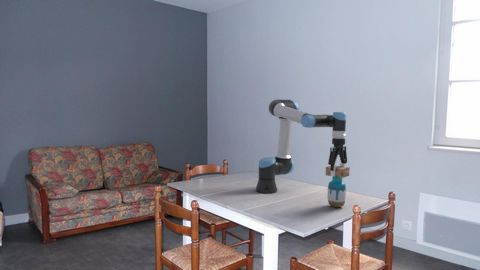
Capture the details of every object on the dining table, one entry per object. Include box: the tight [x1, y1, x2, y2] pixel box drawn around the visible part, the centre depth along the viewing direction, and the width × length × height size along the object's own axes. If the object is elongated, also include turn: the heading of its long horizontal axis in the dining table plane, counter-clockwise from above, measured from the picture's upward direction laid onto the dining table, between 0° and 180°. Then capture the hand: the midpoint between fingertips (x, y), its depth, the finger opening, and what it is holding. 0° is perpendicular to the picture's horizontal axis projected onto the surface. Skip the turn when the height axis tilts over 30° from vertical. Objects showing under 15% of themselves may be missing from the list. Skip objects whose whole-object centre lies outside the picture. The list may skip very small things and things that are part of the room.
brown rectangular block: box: [325, 165, 350, 179], centre depth 216 cm, size 11×9×5 cm
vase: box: [327, 176, 347, 208], centre depth 217 cm, size 11×11×19 cm
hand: (337, 175), depth 216 cm, fingers closed on brown rectangular block, 9 cm apart
